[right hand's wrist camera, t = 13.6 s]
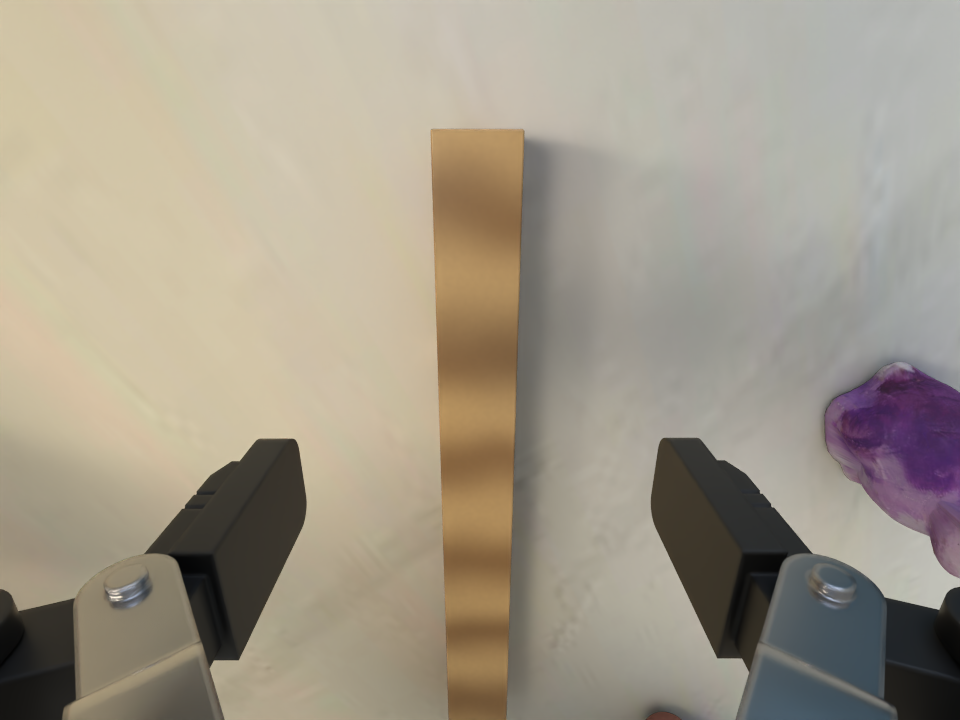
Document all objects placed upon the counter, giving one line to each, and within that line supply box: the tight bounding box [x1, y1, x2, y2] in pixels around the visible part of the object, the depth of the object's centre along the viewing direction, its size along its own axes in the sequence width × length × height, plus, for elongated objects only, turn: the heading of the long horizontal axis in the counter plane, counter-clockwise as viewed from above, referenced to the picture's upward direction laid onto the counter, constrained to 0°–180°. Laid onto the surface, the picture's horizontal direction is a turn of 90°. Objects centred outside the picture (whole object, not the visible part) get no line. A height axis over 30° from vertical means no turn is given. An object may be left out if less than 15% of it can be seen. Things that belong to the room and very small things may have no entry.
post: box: [431, 129, 524, 720], centre depth 37 cm, size 51×4×8 cm, turn 0°
